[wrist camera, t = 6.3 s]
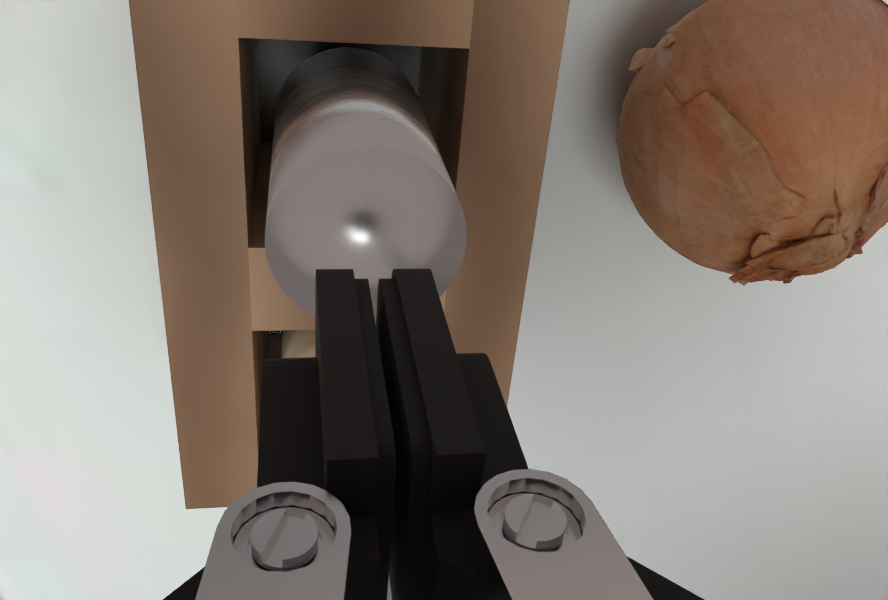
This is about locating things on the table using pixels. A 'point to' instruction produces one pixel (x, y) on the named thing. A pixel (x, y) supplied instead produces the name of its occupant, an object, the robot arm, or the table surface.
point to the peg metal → (357, 179)
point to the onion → (762, 135)
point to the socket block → (248, 174)
